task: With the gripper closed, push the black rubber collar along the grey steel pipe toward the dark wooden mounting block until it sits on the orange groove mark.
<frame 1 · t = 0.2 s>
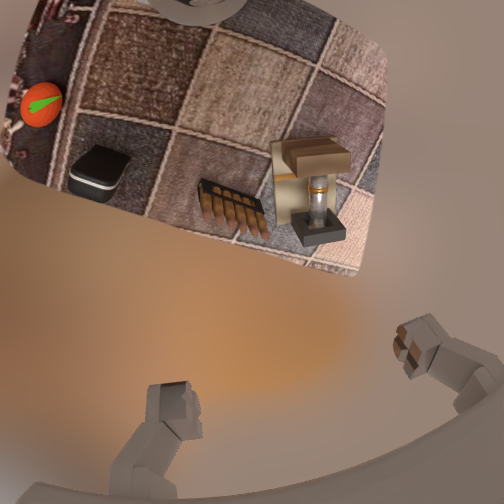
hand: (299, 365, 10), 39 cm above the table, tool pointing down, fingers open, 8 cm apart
pipe stand: (304, 179, 48), on the table
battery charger: (110, 160, 41), on the table
steel pipe: (318, 200, 44), point 6 cm above the table
collar: (317, 226, 47), point 7 cm above the table, slide at 7.0 cm
ammunition clip: (229, 193, 48), on the table
clementine: (54, 99, 32), on the table
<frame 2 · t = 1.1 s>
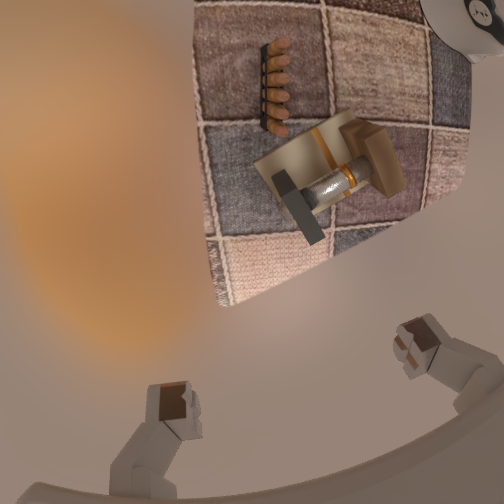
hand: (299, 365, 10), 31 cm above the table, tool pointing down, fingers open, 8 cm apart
pipe stand: (320, 166, 38), on the table
steel pipe: (331, 185, 33), point 6 cm above the table
collar: (297, 205, 34), point 6 cm above the table, slide at 7.0 cm
ammunition clip: (267, 86, 32), on the table
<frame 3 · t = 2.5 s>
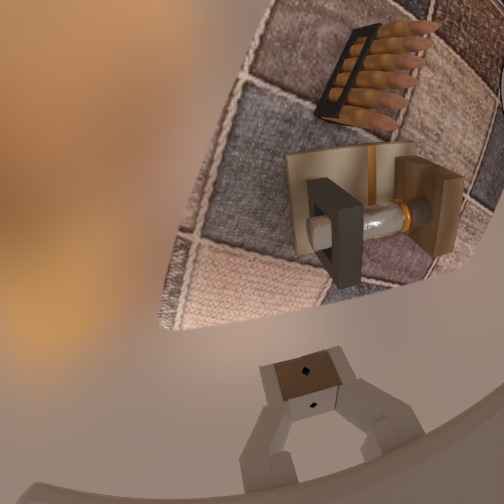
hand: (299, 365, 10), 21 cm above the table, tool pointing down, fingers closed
pipe stand: (355, 194, 30), on the table
steel pipe: (380, 219, 24), point 6 cm above the table
collar: (333, 229, 24), point 7 cm above the table, slide at 7.0 cm
ammunition clip: (341, 73, 23), on the table
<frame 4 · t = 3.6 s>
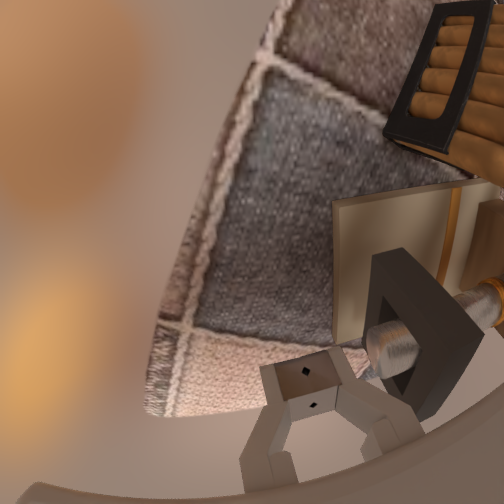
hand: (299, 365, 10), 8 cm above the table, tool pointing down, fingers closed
pipe stand: (423, 255, 19), on the table
steel pipe: (470, 313, 13), point 6 cm above the table
collar: (409, 341, 13), point 7 cm above the table, slide at 7.0 cm
ammunition clip: (422, 69, 12), on the table
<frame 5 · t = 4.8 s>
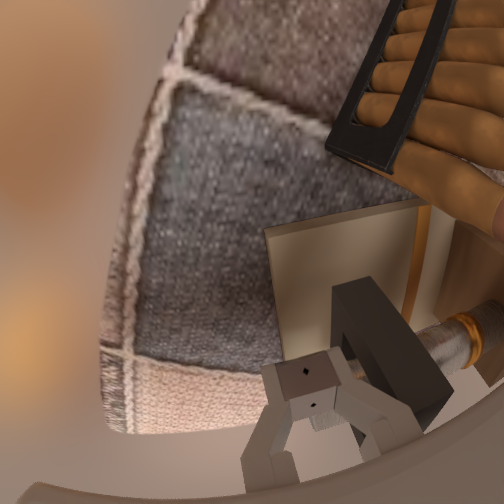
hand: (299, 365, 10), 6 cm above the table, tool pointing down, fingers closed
pipe stand: (387, 280, 17), on the table
steel pipe: (432, 356, 12), point 6 cm above the table
collar: (374, 381, 12), point 6 cm above the table, slide at 5.7 cm, touching gripper
ammunition clip: (378, 65, 11), on the table
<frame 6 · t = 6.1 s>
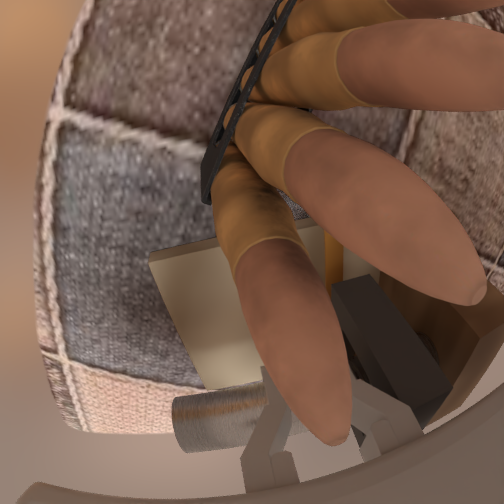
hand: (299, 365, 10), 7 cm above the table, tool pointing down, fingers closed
pipe stand: (304, 302, 17), on the table
steel pipe: (328, 394, 12), point 6 cm above the table
collar: (373, 379, 12), point 6 cm above the table, slide at 0.0 cm, touching gripper
ammunition clip: (265, 68, 11), on the table
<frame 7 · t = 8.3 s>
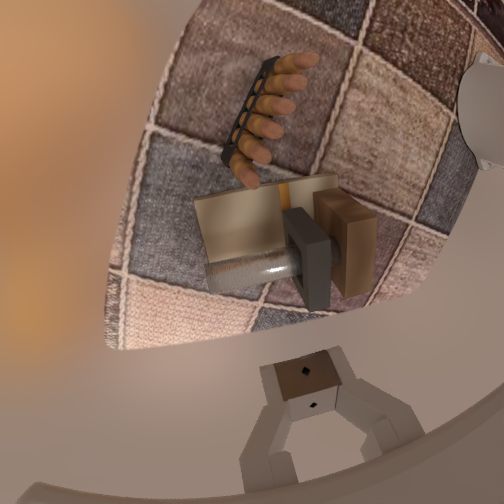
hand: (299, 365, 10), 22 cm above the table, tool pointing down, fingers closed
pipe stand: (272, 230, 32), on the table
steel pipe: (281, 263, 26), point 6 cm above the table
collar: (305, 257, 27), point 7 cm above the table, slide at -0.1 cm
ammunition clip: (250, 111, 26), on the table
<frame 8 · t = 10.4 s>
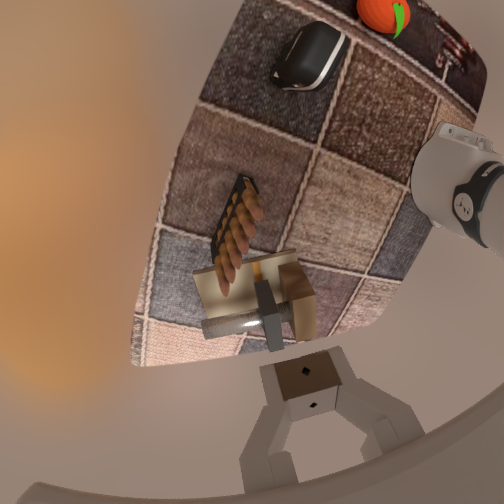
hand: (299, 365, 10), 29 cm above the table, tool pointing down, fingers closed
pipe stand: (250, 289, 45), on the table
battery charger: (286, 63, 29), on the table
steel pipe: (252, 319, 39), point 6 cm above the table
collar: (268, 315, 39), point 6 cm above the table, slide at -0.1 cm
ammunition clip: (230, 212, 38), on the table
clementine: (369, 17, 26), on the table
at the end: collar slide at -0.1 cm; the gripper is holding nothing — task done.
